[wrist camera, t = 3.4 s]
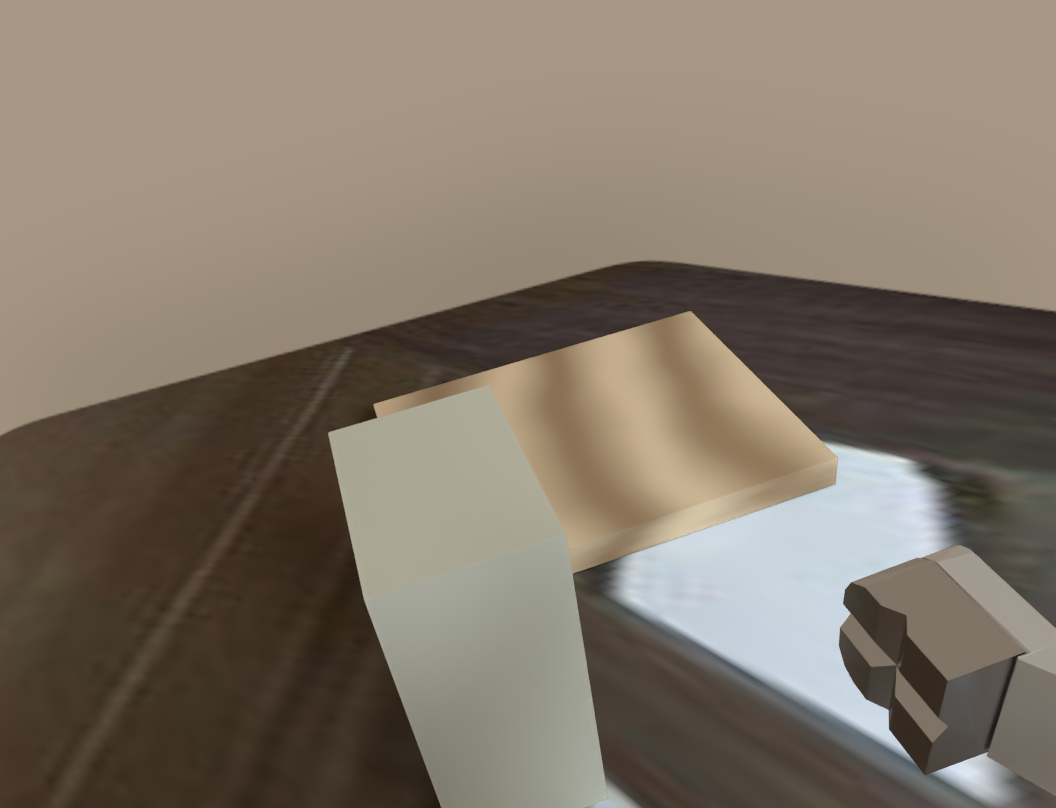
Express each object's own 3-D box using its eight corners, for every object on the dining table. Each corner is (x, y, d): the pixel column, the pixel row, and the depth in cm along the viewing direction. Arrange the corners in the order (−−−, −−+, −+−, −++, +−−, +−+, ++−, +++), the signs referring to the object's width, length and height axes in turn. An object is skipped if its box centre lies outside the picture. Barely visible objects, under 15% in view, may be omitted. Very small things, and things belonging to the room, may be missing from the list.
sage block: (537, 631, 34) (486, 379, 27) (608, 798, 28) (565, 533, 21) (413, 675, 33) (326, 427, 26) (459, 856, 27) (363, 600, 20)
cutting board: (691, 334, 49) (690, 310, 48) (835, 483, 38) (837, 457, 37) (380, 426, 46) (373, 404, 45) (438, 619, 35) (430, 594, 34)
